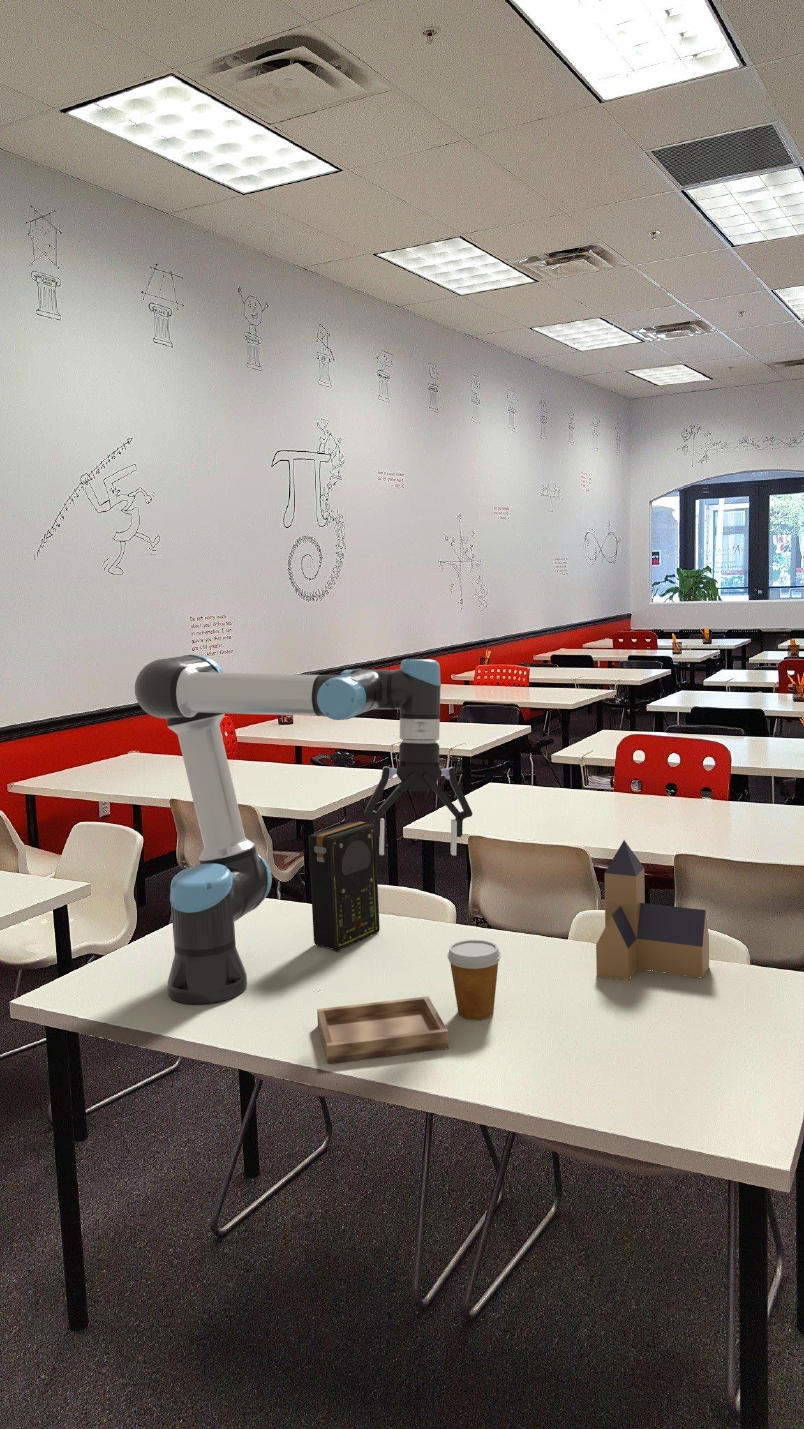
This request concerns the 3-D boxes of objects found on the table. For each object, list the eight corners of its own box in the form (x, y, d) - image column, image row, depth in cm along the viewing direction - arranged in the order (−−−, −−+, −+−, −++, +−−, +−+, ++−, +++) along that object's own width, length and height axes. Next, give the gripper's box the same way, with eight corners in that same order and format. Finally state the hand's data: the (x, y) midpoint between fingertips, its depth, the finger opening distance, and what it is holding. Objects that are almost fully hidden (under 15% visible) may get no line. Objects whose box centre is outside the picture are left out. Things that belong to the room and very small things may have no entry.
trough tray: (327, 1063, 161) (326, 1046, 161) (317, 1025, 176) (317, 1009, 176) (448, 1048, 165) (447, 1031, 165) (429, 1012, 180) (428, 996, 179)
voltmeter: (338, 954, 211) (333, 838, 208) (308, 946, 216) (302, 833, 213) (384, 932, 223) (379, 822, 220) (354, 926, 228) (349, 818, 225)
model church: (614, 954, 205) (612, 834, 202) (709, 967, 196) (708, 842, 193) (596, 976, 194) (594, 849, 191) (695, 990, 185) (695, 858, 182)
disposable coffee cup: (513, 1010, 179) (511, 946, 178) (480, 1028, 172) (477, 961, 171) (471, 997, 185) (469, 935, 184) (438, 1014, 179) (435, 949, 177)
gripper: (353, 741, 184) (351, 857, 184) (488, 743, 186) (486, 857, 186) (352, 739, 191) (350, 850, 192) (482, 741, 193) (480, 851, 194)
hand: (417, 854), depth 189 cm, fingers open, 13 cm apart
